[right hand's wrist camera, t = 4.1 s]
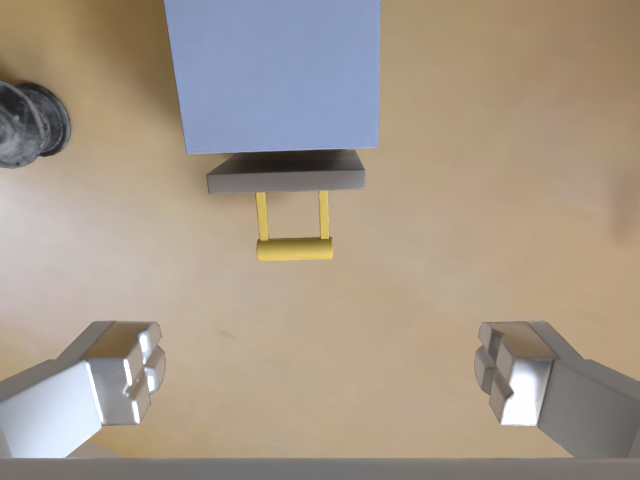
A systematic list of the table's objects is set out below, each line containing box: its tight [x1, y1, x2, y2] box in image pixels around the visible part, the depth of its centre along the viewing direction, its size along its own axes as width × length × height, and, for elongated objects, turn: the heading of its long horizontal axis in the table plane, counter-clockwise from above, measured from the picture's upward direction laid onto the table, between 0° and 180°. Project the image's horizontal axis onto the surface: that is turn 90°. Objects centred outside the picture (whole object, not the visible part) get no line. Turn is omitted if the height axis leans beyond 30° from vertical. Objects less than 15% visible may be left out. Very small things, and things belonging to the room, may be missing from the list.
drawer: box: [206, 150, 365, 261], centre depth 24 cm, size 24×9×8 cm, turn 2°
